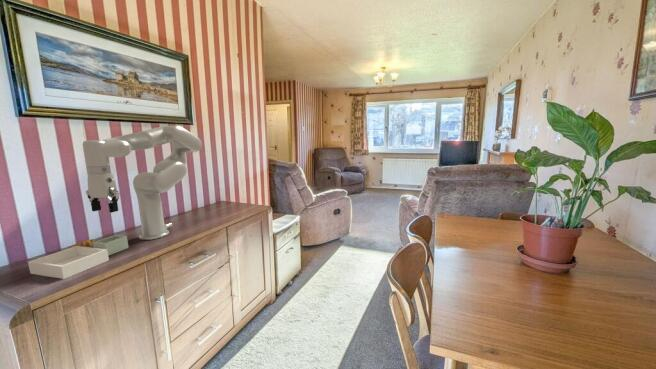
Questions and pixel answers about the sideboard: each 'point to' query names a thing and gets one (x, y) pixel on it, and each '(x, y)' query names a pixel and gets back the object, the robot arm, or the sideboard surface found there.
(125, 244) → the small crate
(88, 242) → the pastry
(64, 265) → the big crate
